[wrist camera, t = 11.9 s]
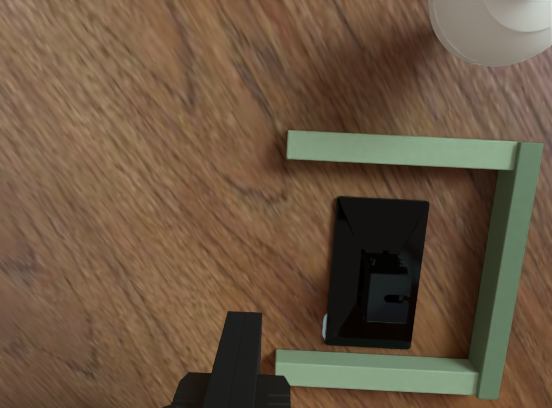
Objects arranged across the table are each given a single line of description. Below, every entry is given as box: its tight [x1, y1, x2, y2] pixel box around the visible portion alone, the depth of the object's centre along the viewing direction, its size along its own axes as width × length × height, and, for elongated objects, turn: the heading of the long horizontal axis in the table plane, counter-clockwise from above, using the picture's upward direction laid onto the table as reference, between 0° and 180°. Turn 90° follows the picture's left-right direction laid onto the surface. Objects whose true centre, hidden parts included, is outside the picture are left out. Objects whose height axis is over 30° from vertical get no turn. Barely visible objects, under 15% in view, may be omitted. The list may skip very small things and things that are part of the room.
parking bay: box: [275, 130, 544, 400], centre depth 31 cm, size 20×18×2 cm
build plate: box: [322, 196, 429, 349], centre depth 31 cm, size 12×7×5 cm, turn 177°
